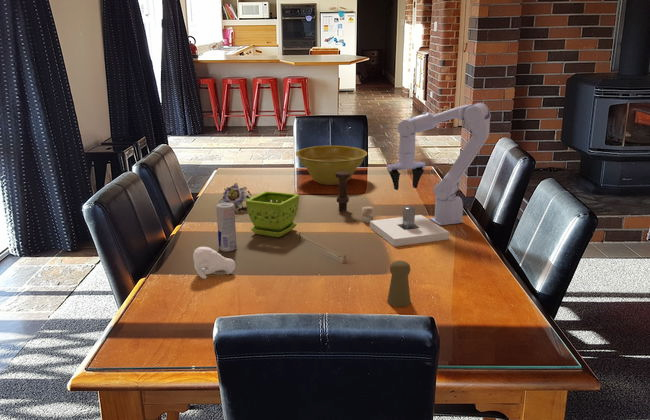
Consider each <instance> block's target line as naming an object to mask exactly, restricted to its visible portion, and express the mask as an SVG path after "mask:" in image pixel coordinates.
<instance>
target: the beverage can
mask: <svg viewBox="0 0 650 420" xmlns="http://www.w3.org/2000/svg"><path fill="white" fill-rule="evenodd" d="M235 211H236V208H234V204H233V203H228V202H226V203H225V202H224V203H219V202H218V204H216V225H217V238H218V240H217V241H218V250H220V251H222V252H226V253H227V252H233V251H234V250H236V249H237V232H236V231H237V229H236V214H235Z"/></svg>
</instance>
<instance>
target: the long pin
mask: <svg viewBox="0 0 650 420" xmlns="http://www.w3.org/2000/svg"><path fill="white" fill-rule="evenodd" d="M415 215H416V207H414V206H403V207H402V217H403V226H402V229H404V230H409V229H414V221H415Z"/></svg>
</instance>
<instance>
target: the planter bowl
mask: <svg viewBox="0 0 650 420" xmlns="http://www.w3.org/2000/svg"><path fill="white" fill-rule="evenodd" d="M295 155H296V156H297V157H298V160H299V162H300V164H301V165H302V166H303V167H304V168H306V170H307V172H308V173H309V175H310V176H311V179H312V180H313V181H315V182H316V183H318V184H321V185H329V186H330V185H331V186H332V185H333V186H334V185H335V186H336V185H339V181H338V178H336V172H339V171H346V172H349V173H350V177H349V178H347V182H348V181H349V180H351V178H352V177H353V175H354V173H355V172H356V169H358V167H359V166H362V163H363V162H364V159H365V157H367V156H368V152H367V151H366V150H365V149H362V148H360V147H359V148H358V147H354V146H345V145H316V146H310V147H305V148H301V149H299V150H297V151H296V152H295Z"/></svg>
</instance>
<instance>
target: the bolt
mask: <svg viewBox="0 0 650 420" xmlns="http://www.w3.org/2000/svg"><path fill="white" fill-rule="evenodd" d="M349 177H350V173H349V172H346V171H339V172H336V178H338V181H339V184H338V196H337V197H336V202H337V203H338V211H339V212H346V211H347V210H348V205H347V204H348V203H349V201H350V197H349V196H348V181H347V178H349Z"/></svg>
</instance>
